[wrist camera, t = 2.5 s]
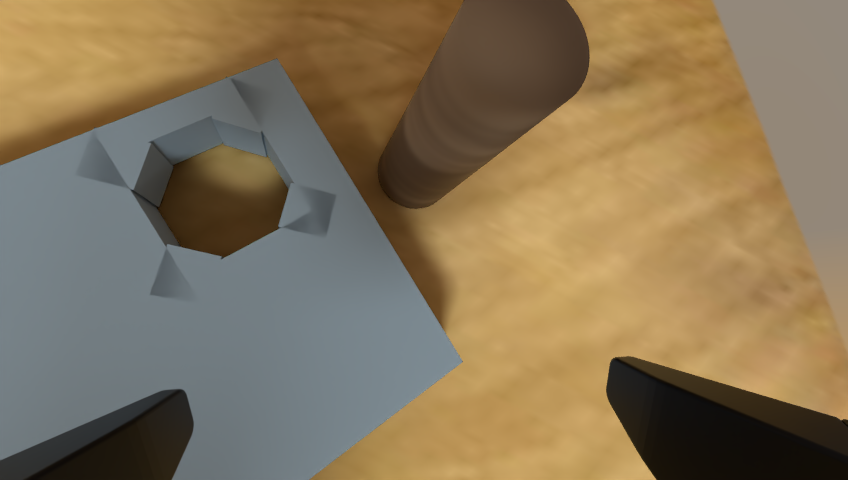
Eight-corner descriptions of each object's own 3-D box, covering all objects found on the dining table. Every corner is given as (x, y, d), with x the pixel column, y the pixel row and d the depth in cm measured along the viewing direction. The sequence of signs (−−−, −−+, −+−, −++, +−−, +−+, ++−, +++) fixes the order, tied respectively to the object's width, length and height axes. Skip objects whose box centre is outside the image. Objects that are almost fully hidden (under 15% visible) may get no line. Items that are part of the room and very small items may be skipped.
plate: (124, 589, 16) (86, 649, 13) (-96, 246, 16) (-182, 233, 13) (441, 354, 21) (462, 361, 19) (279, 90, 21) (276, 57, 18)
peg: (403, 221, 22) (511, 132, 11) (364, 157, 22) (431, -2, 11) (460, 187, 23) (613, 75, 12) (424, 127, 23) (541, -45, 12)
